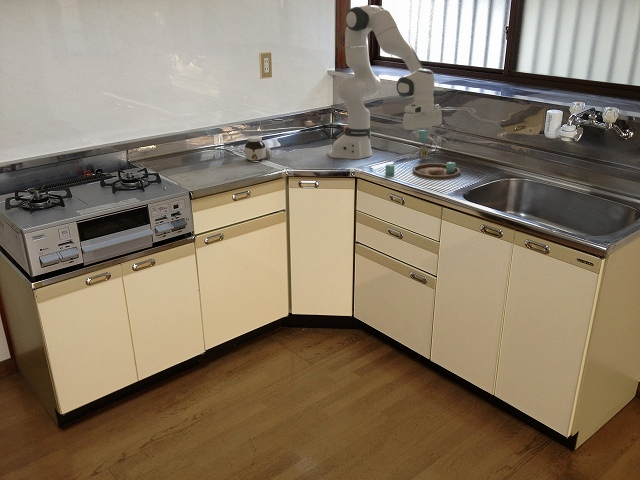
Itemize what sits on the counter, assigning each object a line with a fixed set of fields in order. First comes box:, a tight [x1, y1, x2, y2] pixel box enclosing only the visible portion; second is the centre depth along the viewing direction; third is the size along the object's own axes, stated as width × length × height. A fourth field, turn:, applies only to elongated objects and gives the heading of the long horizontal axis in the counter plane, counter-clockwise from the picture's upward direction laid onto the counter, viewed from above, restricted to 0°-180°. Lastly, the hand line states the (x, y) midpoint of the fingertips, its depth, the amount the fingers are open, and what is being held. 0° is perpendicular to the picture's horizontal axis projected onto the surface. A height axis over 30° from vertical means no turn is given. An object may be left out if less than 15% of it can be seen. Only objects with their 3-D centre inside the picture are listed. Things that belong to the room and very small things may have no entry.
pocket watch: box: [418, 142, 437, 164], centre depth 302 cm, size 8×8×10 cm
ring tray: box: [412, 162, 461, 180], centre depth 285 cm, size 21×21×2 cm
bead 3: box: [446, 161, 457, 174], centre depth 284 cm, size 4×4×4 cm
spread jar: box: [244, 135, 273, 162], centre depth 309 cm, size 12×11×12 cm
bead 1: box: [384, 164, 395, 177], centre depth 284 cm, size 4×4×4 cm
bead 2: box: [417, 129, 428, 143], centre depth 283 cm, size 4×4×4 cm
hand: (422, 137), depth 283 cm, fingers closed on bead 2, 4 cm apart
